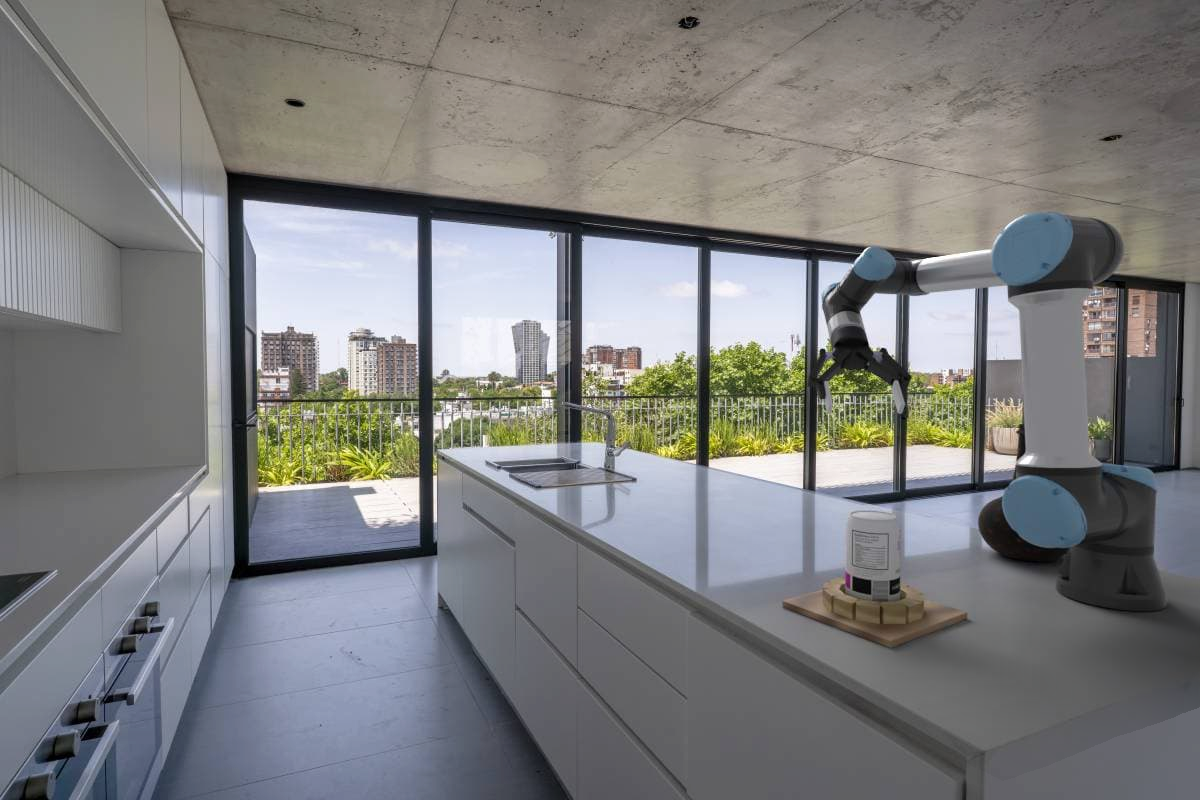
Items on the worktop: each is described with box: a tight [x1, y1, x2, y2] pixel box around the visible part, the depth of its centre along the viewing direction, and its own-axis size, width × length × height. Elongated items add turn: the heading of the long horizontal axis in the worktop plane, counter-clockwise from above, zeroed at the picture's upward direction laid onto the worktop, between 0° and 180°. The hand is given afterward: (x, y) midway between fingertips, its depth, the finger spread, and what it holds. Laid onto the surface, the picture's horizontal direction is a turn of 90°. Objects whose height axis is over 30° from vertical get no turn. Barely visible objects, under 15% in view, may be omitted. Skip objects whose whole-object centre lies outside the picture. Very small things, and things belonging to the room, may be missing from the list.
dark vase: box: [977, 423, 1068, 563], centre depth 139 cm, size 18×18×28 cm
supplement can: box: [844, 509, 902, 602], centre depth 108 cm, size 8×8×15 cm
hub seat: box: [781, 576, 968, 649], centre depth 108 cm, size 20×20×4 cm
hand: (865, 409), depth 131 cm, fingers open, 13 cm apart
